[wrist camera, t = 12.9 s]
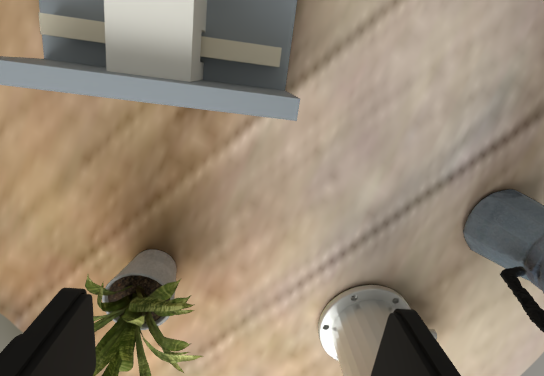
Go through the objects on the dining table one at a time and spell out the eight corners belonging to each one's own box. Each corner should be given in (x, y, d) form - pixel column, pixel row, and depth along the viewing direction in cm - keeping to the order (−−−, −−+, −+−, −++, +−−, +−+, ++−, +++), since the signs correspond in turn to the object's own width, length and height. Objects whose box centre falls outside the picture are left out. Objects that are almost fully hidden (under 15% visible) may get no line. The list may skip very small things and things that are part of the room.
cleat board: (302, -56, 29) (334, -131, 18) (281, 104, 34) (296, 120, 23) (39, -103, 27) (-102, -221, 16) (55, 76, 31) (-47, 78, 21)
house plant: (209, 329, 43) (187, 474, 27) (98, 319, 41) (8, 467, 26) (223, 232, 38) (206, 341, 23) (99, 216, 36) (-9, 322, 21)
